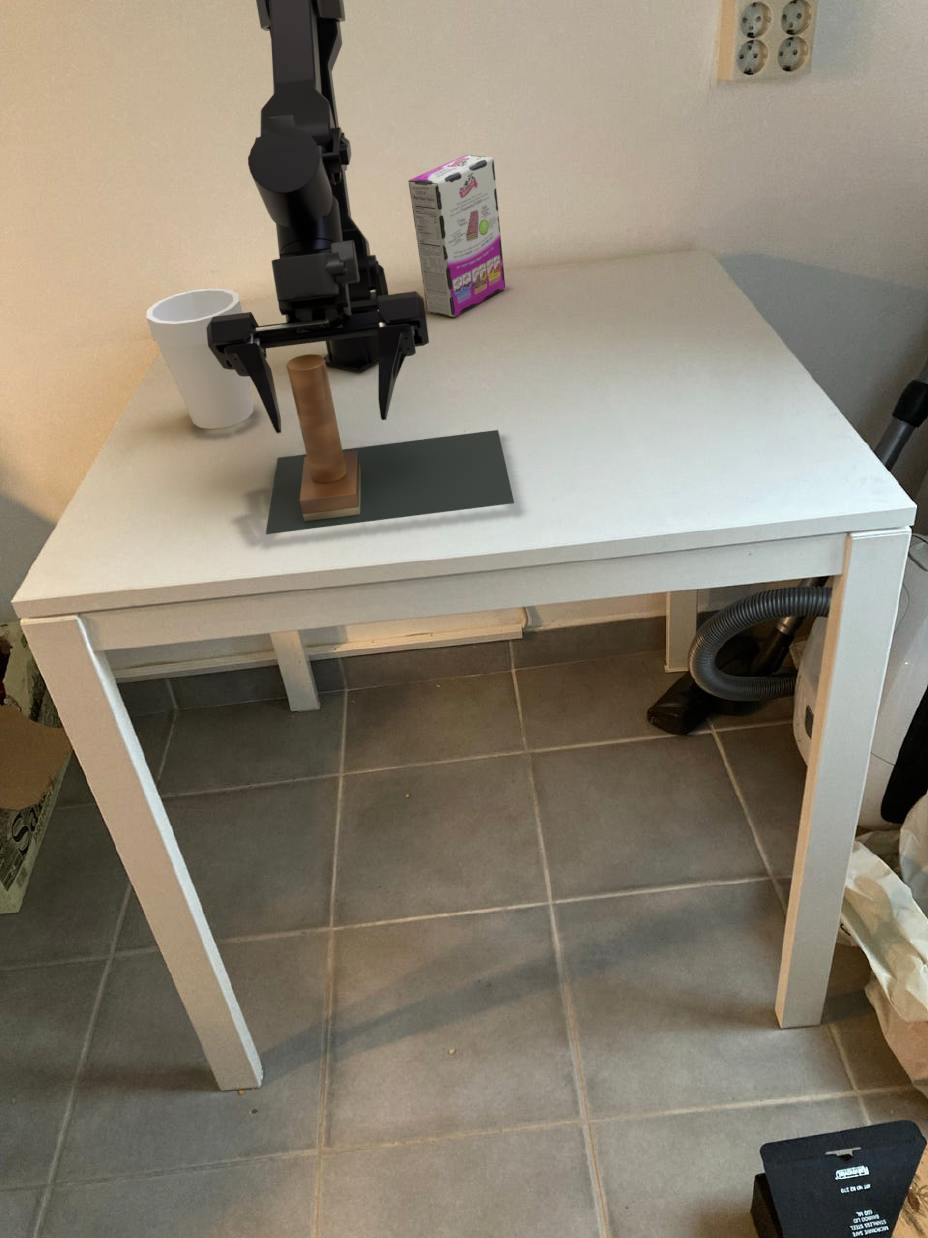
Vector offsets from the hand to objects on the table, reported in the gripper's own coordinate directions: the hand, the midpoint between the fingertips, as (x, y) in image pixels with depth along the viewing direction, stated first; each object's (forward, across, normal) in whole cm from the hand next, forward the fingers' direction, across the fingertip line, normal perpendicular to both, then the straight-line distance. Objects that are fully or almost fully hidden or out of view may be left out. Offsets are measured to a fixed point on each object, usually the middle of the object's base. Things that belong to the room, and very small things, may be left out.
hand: (330, 425), depth 85 cm
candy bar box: (-28, +15, +40) cm, 51 cm away
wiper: (+5, -1, +6) cm, 7 cm away
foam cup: (-9, -14, +21) cm, 27 cm away
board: (+4, +4, +8) cm, 10 cm away
